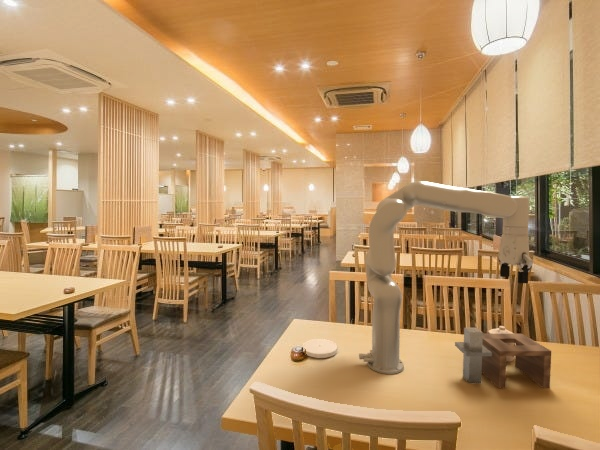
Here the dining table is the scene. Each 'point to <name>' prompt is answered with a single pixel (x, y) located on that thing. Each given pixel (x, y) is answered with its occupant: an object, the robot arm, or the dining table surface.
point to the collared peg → (472, 354)
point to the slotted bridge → (516, 358)
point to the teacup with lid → (503, 331)
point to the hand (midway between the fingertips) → (513, 279)
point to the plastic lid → (320, 348)
